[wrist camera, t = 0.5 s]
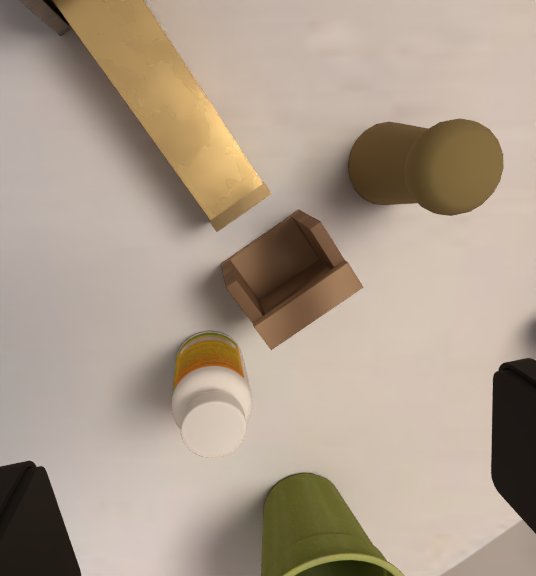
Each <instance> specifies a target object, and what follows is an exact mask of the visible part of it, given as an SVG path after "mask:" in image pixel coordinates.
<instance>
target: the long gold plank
mask: <svg viewBox="0 0 536 576" xmlns="http://www.w3.org/2000/svg"><path fill="white" fill-rule="evenodd" d="M53 2H54V3H55V4H56V6H57V7H58V9H59V10H60V11H61V13H62V14H63V16H64V17H65V18H66V20H67V21H68V23H69V24H70V25H71V27H72V28H73V30H74V31H75V32H76V34H77V35H78V36H79V38H80V39H81V41H82V42H83V43H84V45H85V46H86V48H87V49H88V50H89V52H90V53H91V55H92V56H93V57H94V59H95V60H96V62H97V63H98V64H99V66H100V67H101V68H102V70H103V71H104V73H105V74H106V75H107V77H108V78H109V80H110V81H111V82H112V84H113V85H114V87H115V88H116V89H117V91H118V92H119V94H120V95H121V96H122V98H123V99H124V101H125V102H126V103H127V105H128V106H129V107H130V109H131V110H132V112H133V113H134V114H135V116H136V117H137V119H138V120H139V121H140V123H141V124H142V126H143V127H144V128H145V130H146V131H147V133H148V134H149V135H150V137H151V138H152V139H153V141H154V142H155V144H156V145H157V146H158V148H159V149H160V151H161V152H162V153H163V155H164V156H165V158H166V159H167V160H168V162H169V163H170V165H171V166H172V167H173V169H174V170H175V172H176V173H177V174H178V176H179V177H180V178H181V180H182V181H183V183H184V184H185V185H186V187H187V188H188V190H189V191H190V192H191V194H192V195H193V197H194V198H195V199H196V201H197V202H198V204H199V205H200V206H201V208H202V209H203V211H204V212H205V213H206V215H207V216H208V217H209V222H210V223H211V225H212V226H213V227H214V229H215V230H216V231H219V230H220V229H222V228H223V227H225V226H226V225H227V224H229V223H230V222H232V221H233V220H235V219H236V218H237V217H239V216H240V215H242V214H243V213H245V212H246V211H247V210H249V209H250V208H252V207H253V206H255V205H256V204H258V203H259V202H260V201H262V200H263V199H265V198H266V197H268V196H269V195H270V194H272V193H271V192H270V190H269V189H268V187H267V186H266V184H265V183H264V182H262V181H261V180H260V178H259V177H258V175H257V174H256V172H255V171H254V169H253V167H252V166H251V164H250V163H249V161H248V160H247V158H246V157H245V155H244V154H243V152H242V151H241V149H240V148H239V146H238V144H237V143H236V141H235V140H234V138H233V137H232V135H231V134H230V132H229V131H228V129H227V128H226V126H225V125H224V123H223V121H222V120H221V118H220V117H219V115H218V114H217V112H216V111H215V109H214V108H213V106H212V105H211V103H210V102H209V100H208V98H207V97H206V95H205V94H204V92H203V91H202V89H201V88H200V86H199V85H198V83H197V82H196V80H195V79H194V77H193V75H192V74H191V72H190V71H189V69H188V68H187V66H186V65H185V63H184V62H183V60H182V59H181V57H180V56H179V54H178V52H177V51H176V49H175V48H174V46H173V45H172V43H171V42H170V40H169V39H168V37H167V36H166V34H165V32H164V31H163V29H162V28H161V26H160V25H159V23H158V22H157V20H156V19H155V17H154V16H153V14H152V13H151V11H150V9H149V8H148V6H147V5H146V3H145V2H144V0H53Z"/></svg>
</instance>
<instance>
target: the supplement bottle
mask: <svg viewBox="0 0 536 576" xmlns="http://www.w3.org/2000/svg"><path fill="white" fill-rule="evenodd" d="M251 408H252V396H251V390H250V386H249V382H248V377H247V372H246V368H245V363H244V359H243V355H242V352H241V350H240V348H239V346H238V344H237V343H236V342H235V341H234V340H233V339H232V338H230V337H229V336H227V335H225V334H223V333H220V332H215V331H206V332H201V333H198V334H195V335H193V336H191V337H190V338H188V339H187V340H186V341H185V342H184V343H183V344H182V346H181V347H180V349H179V351H178V353H177V356H176V362H175V373H174V384H173V394H172V414H173V418H174V420H175V422H176V424H177V426H178V427H179V428H180V429H181V436H182V439H183V442H184V444H185V445H186V446H187V448H188V449H189V450H191V451H192V452H193V453H195V454H197V455H199V456H203V457H210V458H214V457H220V456H224V455H227V454H229V453H230V452H232V451H234V450H235V449H236V448H237V447H238V446H239V445H240V444H241V442H242V441H243V439H244V437H245V433H246V422H247V420H248V418H249V416H250V413H251Z"/></svg>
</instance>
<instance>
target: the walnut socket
mask: <svg viewBox="0 0 536 576" xmlns="http://www.w3.org/2000/svg"><path fill="white" fill-rule="evenodd" d="M221 266H222V271H223V276H224V280H225V285H226V288H227V290H228V291H229V292H230V294H231V295H232V296H233V298H234V299H235V300H236V302H237V303H238V304H239V306H240V307H241V308H242V310H243V311H244V312H245V314H246V315H247V316H248V318H249V319H250V320H251V322H252V323H253V326H254V328H255V329H256V331H257V332H258V333H259V335H260V336H261V337H262V339H263V340H264V341H265V343H266V344H267V345H268V347H269V348H270V349H271V350H272V349H274V348H275V347H277V346H278V345H279V344H281V343H282V342H284V341H285V340H287V339H288V338H290V337H291V336H293V335H294V334H296V333H297V332H299V331H300V330H301V329H303V328H304V327H306V326H307V325H309V324H310V323H312V322H313V321H315V320H316V319H318V318H319V317H321V316H322V315H323V314H325V313H326V312H328V311H329V310H331V309H332V308H334V307H335V306H337V305H338V304H340V303H341V302H343V301H344V300H345V299H347V298H348V297H350V296H351V295H353V294H354V293H356V292H357V291H359V290H360V289H362V288H363V286H362V284H361V283H360V281H359V279H358V278H357V276H356V275H355V273H354V271H353V270H352V268H351V267H350V265H349V263H348V262H347V261H345V260H344V258H343V257H342V255H341V253H340V252H339V250H338V249H337V247H336V245H335V244H334V242H333V241H332V239H331V237H330V236H329V234H328V233H327V231H326V229H325V228H324V226H323V225H322V223H321V222H320V221H318V220H317V219H315V218H313V217H311V216H309V215H308V214H306V213H304V212H302V211H301V210H298V211H296V212H295V213H294V214H292V215H291V216H289V217H288V218H286V219H285V220H283V221H282V222H281V223H279V224H278V225H276V226H275V227H273V228H272V229H271V230H269V231H268V232H266V233H265V234H263V235H262V236H260V237H259V238H258V239H256V240H255V241H253V242H252V243H250V244H249V245H248V246H246V247H245V248H243V249H242V250H240V251H239V252H237V253H236V254H235V255H233V256H232V257H230V258H229V259H227V260H226V261H225V262H223V263H222V264H221Z"/></svg>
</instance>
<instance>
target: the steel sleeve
mask: <svg viewBox="0 0 536 576" xmlns="http://www.w3.org/2000/svg"><path fill="white" fill-rule="evenodd" d="M19 1H20V2H22V3H23V4H24V5H25V6H26V7H27V8H29V9H30V10H31V11H32V12H33V13H34V14H36V15H37V16H38V17H39V18H40V19H42V20H43V21H44V22H45V23H46V24H47V25H49V26H50V27H51V28H52V29H53V30H54V31H56V32H57V33H58V34H59V35H60V36H61V35H62V34H64V33H65V32H66V31H68V30H69V29H70V28H72V27H71V25H70V24H69V23H68V21H67V20H66V18H65V17H64V16H63V14H62V13H61V11H60V10H59V9H58V7H57V6H56V4H55V3H54V2H53V0H19Z"/></svg>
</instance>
